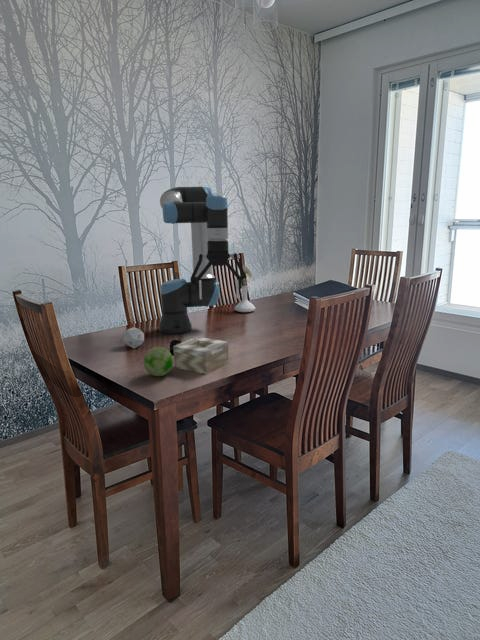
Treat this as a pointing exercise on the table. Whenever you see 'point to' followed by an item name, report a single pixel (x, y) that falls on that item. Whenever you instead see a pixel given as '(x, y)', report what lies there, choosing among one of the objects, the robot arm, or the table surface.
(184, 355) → the display stand
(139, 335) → the grey faceted polyhedron
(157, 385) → the table surface
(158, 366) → the decorative ball
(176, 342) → the black box
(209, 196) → the robot arm
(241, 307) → the flower in vase
